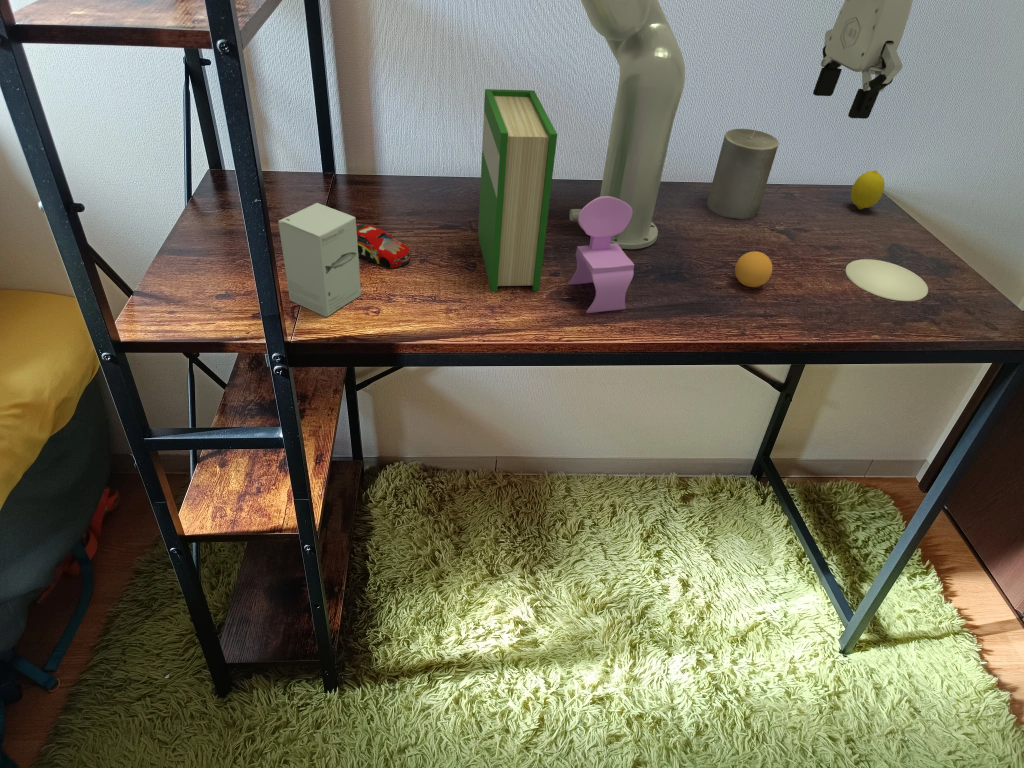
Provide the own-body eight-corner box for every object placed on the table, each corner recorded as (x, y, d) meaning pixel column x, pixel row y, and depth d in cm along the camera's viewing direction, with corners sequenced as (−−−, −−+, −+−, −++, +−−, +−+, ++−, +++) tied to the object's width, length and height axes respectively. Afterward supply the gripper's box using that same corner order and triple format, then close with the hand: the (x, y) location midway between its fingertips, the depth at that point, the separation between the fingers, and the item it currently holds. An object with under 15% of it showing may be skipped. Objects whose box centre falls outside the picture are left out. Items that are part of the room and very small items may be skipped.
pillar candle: (731, 194, 139) (752, 118, 129) (768, 214, 132) (793, 136, 123) (695, 202, 134) (714, 125, 125) (731, 224, 128) (754, 144, 119)
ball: (739, 294, 109) (750, 263, 105) (725, 275, 113) (734, 245, 110) (772, 293, 110) (783, 262, 106) (756, 274, 114) (767, 244, 111)
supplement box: (327, 319, 96) (317, 236, 88) (288, 300, 99) (275, 219, 91) (363, 296, 101) (357, 216, 93) (325, 279, 104) (316, 200, 96)
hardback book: (539, 291, 105) (557, 134, 90) (491, 292, 104) (501, 133, 89) (521, 235, 119) (534, 90, 103) (478, 235, 118) (484, 89, 102)
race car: (417, 261, 110) (417, 238, 108) (395, 275, 107) (394, 252, 104) (354, 235, 115) (353, 212, 113) (331, 247, 112) (329, 224, 109)
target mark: (873, 302, 110) (873, 301, 110) (830, 261, 120) (831, 260, 120) (944, 299, 112) (945, 298, 112) (897, 259, 122) (897, 258, 122)
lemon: (869, 204, 140) (885, 166, 134) (877, 217, 135) (895, 177, 130) (841, 201, 140) (857, 163, 135) (849, 213, 135) (865, 174, 130)
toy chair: (581, 315, 101) (596, 221, 92) (561, 284, 108) (574, 193, 98) (633, 310, 103) (653, 218, 94) (610, 279, 110) (627, 190, 100)
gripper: (830, -37, 100) (788, 86, 111) (905, -10, 87) (850, 126, 98) (875, -33, 102) (829, 88, 113) (955, -6, 89) (895, 127, 100)
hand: (839, 106), depth 105 cm, fingers open, 9 cm apart
